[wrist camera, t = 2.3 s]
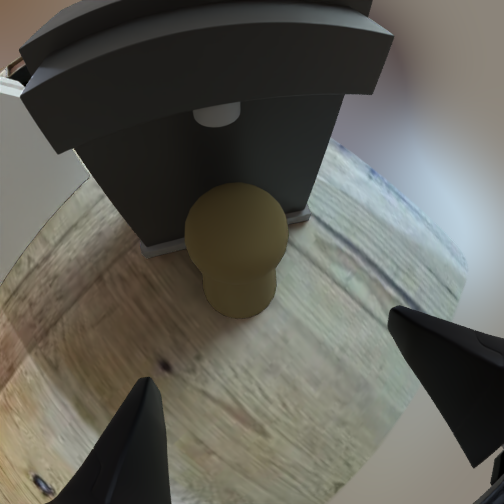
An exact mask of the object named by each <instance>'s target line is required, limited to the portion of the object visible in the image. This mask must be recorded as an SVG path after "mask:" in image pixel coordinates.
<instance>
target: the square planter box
mask: <svg viewBox="0 0 504 504" xmlns="http://www.w3.org/2000/svg"><path fill="white" fill-rule="evenodd" d="M5 70H6V78H8V79H12V80H15V81H19V82H20V83H21V84H22V85H23V83H25V82H26V81H28V80H30V79H31V78H32V76H31V74H30V72H29V70H28V68H27V66H26V64H25V62H24V60H23V58H22V56H20V57H19V58H17V59H16V60H15V61H13V62H12V63H11V64H9V65H8V66H7V67H6V69H5Z"/></svg>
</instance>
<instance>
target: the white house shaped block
mask: <svg viewBox="0 0 504 504" xmlns="http://www.w3.org/2000/svg"><path fill="white" fill-rule="evenodd" d="M24 88H25V87H24V86H23V85H22V84H21V83H20V82H19V81H15V80H12V79H8V78H4V77H0V285H1V284H2V282H3V281H4V279H5V278H6V276H7V275H8V273H9V272H10V270H11V269H12V267H13V266H14V264H15V263H16V261H17V260H18V258H19V257H20V256H21V254H22V253H23V252H24V250H25V249H26V248H27V246H28V245H29V244H30V242H31V241H32V240H33V238H34V237H35V236H36V235H37V233H38V232H39V231H40V230H41V228H42V227H43V226H44V225H45V224H46V222H47V221H48V220H49V219H50V218H51V217H52V215H53V214H54V213H55V212H56V211H57V210H58V209H59V208H60V206H61V205H62V204H63V203H64V202H65V201H66V200H67V199H68V198H69V197H70V196H71V195H72V194H73V192H74V191H75V190H76V189H77V188H78V187H79V186H80V185H81V184H82V183H83V182H84V181H85V180H86V179H87V178H88V177H89V176H90V175H89V173H88V172H87V170H86V169H85V168H84V166H83V165H82V163H81V162H80V160H79V159H78V157H77V156H76V154H75V153H74V151H73V150H72V149H70V150H68V151H66V152H64V153H61V154H59V155H58V154H57V153H56V152H55V150H54V149H53V148H52V146H51V145H50V143H49V142H48V140H47V139H46V138H45V136H44V135H43V133H42V132H41V130H40V129H39V127H38V126H37V124H36V123H35V121H34V120H33V118H32V117H31V115H30V113H29V112H28V110H27V109H26V107H25V105H24V104H23V102H22V101H21V99H20V95H21V93H22V92H23V90H24Z"/></svg>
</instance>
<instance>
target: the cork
mask: <svg viewBox="0 0 504 504" xmlns="http://www.w3.org/2000/svg"><path fill="white" fill-rule="evenodd" d="M288 237H289V232H288V225H287V219H286V215H285V213H284V211H283V209H282V208H281V206H280V204H279V203H278V202H277V201H276V200H275V199H274V198H273V197H272V196H271V195H270V194H269V193H268V192H266V191H264V190H263V189H261V188H259V187H257V186H255V185H251V184H246V183H241V182H237V183H226V184H222V185H219V186H216V187H214V188H212V189H211V190H209V191H208V192H206V193H205V194H203V195H202V196H201V197H199V199H198V200H197V201H196V202H195V204H194V205H193V206H192V207H191V209H190V211H189V214H188V216H187V219H186V221H185V240H184V241H185V245H186V248H187V251H188V254H189V256H190V258H191V260H192V261H193V262H194V264H195V265H196V266H197V267H198V269H199V270H200V271H201V272H202V277H203V290H204V293H205V296H206V298H207V301H208V302H209V303H210V304H211V306H212V307H213V308H214V309H215V310H216V311H218V312H219V313H221V314H223V315H224V316H228V317H231V318H235V319H239V318H249V317H252V316H254V315H257V314H259V313H260V312H261V311H263V310H264V309H265V308H266V307H267V306H268V305H269V304H270V302H271V300H272V299H273V297H274V294H275V290H276V270H275V268H276V267H277V265H278V263H279V262H280V260H281V259H282V257H283V255H284V253H285V251H286V247H287V242H288Z"/></svg>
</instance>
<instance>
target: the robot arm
mask: <svg viewBox="0 0 504 504" xmlns="http://www.w3.org/2000/svg"><path fill="white" fill-rule="evenodd" d="M388 330H389V332H390V334H391V335H392V337H393V339H394V341H395V342H396V344H397V346H398V348H399V350H400V352H401V353H402V355H403V357H404V359H405V360H406V362H407V363H408V365H409V366H410V368H411V369H412V370H413V372H414V373H415V375H416V376H417V378H418V379H419V381H420V382H421V384H422V385H423V387H424V388H425V390H426V391H427V392H428V394H429V396H430V397H431V399H432V400H433V402H434V403H435V405H436V407H437V408H438V410H439V411H440V413H441V414H442V416H443V418H444V419H445V421H446V422H447V424H448V426H449V427H450V429H451V431H452V432H453V434H454V436H455V437H456V439H457V441H458V443H459V444H460V446H461V448H462V450H463V451H464V453H465V455H466V456H467V458H468V460H469V462H470V463H471V466H472V467H473V468H475V467H477V466H478V465H479V464H481V463H482V462H483V461H484V460H485V459H487V458H488V457H489V456H490V455H491V454H493V453H494V452H495V451H496V450H497V449H498V448H499V447H500V446H502V447H503V449H504V338H500V337H495V336H492V335H488V334H485V333H482V332H479V331H476V330H475V331H474V330H472V329H470V328H466V327H464V326H461V325H457V324H454V323H452V322H449V321H446V320H443V319H440V318H437V317H434V316H431V315H428V314H425V313H422V312H419V311H416V310H413V309H410V308H407V307H404V306H400V305H399V306H396V307H394V308H391V310H390V312H389V318H388ZM490 483H491V485H492V486H491V487H490V489H488V491H486V492H485V493H484V494H483V495H482V496H481V497H480V498H479V499H478V500H476V501H475V502H474V503H473V504H504V450H503V451H502V452H501V453H500V454H499V455H498V456H497V457H496V458H495V460H494V467H493V472H492V477H491V482H490ZM45 504H171V496H170V485H169V473H168V458H167V437H166V427H165V420H164V413H163V406H162V398H161V393H160V391H159V389H158V387H157V386H156V384H155V383H154V381H153V380H152V378H151V377H143V378H139V379H138V381H137V382H136V384H135V385H134V387H133V388H132V390H131V391H130V393H129V394H128V396H127V397H126V399H125V400H124V402H123V403H122V405H121V406H120V408H119V409H118V411H117V412H116V414H115V415H114V417H113V418H112V420H111V421H110V423H109V424H108V426H107V427H106V429H105V430H104V432H103V434H102V435H101V437H100V438H99V440H98V441H97V443H96V444H95V446H94V449H92V450H91V452H90V454H89V455H88V457H87V458H86V460H85V461H84V463H83V464H82V466H81V467H80V468H79V470H78V471H77V472H76V473H75V475H74V476H73V477H72V479H71V480H70V481H69V482H68V484H67V485H66V486H65V487H64V488H63V490H62V491H61V492H60V493H59V495H58V496H57V497H56V498H54V499H53V500H52V501H50V502H48V503H45Z"/></svg>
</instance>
